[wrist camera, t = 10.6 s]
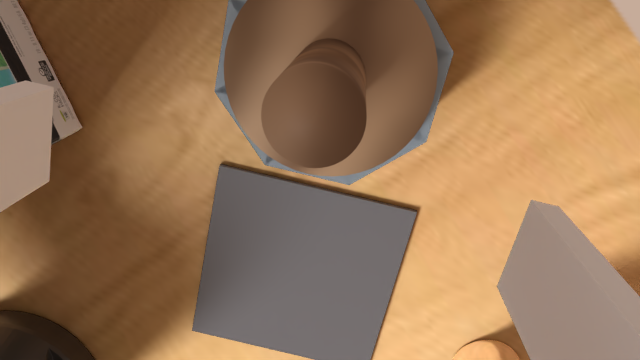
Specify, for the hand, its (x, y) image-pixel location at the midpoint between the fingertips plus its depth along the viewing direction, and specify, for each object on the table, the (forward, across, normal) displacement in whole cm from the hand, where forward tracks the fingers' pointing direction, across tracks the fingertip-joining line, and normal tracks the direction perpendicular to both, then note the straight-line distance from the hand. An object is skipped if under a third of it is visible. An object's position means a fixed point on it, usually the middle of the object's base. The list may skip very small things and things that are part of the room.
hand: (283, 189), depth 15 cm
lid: (+20, 0, 0) cm, 20 cm away
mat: (+26, +1, -18) cm, 32 cm away
